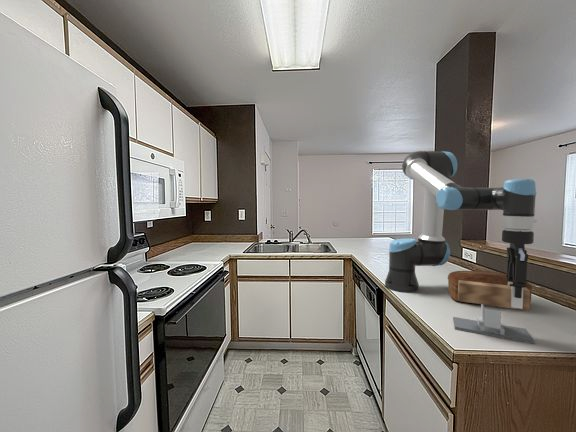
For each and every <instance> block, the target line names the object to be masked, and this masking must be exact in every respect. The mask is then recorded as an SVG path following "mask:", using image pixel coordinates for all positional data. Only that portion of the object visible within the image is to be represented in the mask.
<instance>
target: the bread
mask: <svg viewBox="0 0 576 432" xmlns="http://www.w3.org/2000/svg"><path fill="white" fill-rule="evenodd" d="M506 275H507V273H503V272H497V271H487V270H455V271H451V272H449V274H448V275H447V282H448V283H447V285H448V294H449V296H450V297H451V298H452V299H453V300H454V301H456V302H461V303H464V302H463V301H459V299H458V281H459V280H463V281H472V282H481V283H491V284H500V285H508V282H510V281H508V280H507V279H508V278H507V277H506ZM526 288H527V289H528V290H529V291H530V301H529V307H530V306H531V302H532V292H533V288H532V286H531V284H530V283H529V282H528V281H527V280H526ZM465 303H468V304H469V303H470V302H465ZM470 304H471V303H470Z"/></svg>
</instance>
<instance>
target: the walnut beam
mask: <svg viewBox="0 0 576 432" xmlns="http://www.w3.org/2000/svg"><path fill="white" fill-rule="evenodd" d="M458 299H459V301H458V302H460V301H463V302H462V303H466V302H470V304H471V303H472V304H478V305H481V304H484V305H492V306H498V307H499V308H508V309H514V310H521V311H530V306H529V301H530V291H529V290H528V289H527V288H526V287H524V288H523V309H520V308H513V307H511V286H509V285H500V284H491V283H481V282H472V281H463V280H459V281H458Z"/></svg>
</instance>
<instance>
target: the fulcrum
mask: <svg viewBox="0 0 576 432" xmlns="http://www.w3.org/2000/svg"><path fill="white" fill-rule="evenodd" d="M476 317H477V318H476V319H469V318H464V317H463V318H462V317H458V316H457V317H456V316H452V320H453V321H452V322H453V327H454V330H457V331H458V330H459V331H463V332H469V333H473V334H479V335H485V336H491V337H496V338H501V339H507V340H513V341H518V342H525V343H529V344H535V343H536V341H535V340H534V338H533V337H532V336H531V334H530V333H529V331H528V329H526V328H524V327H518V326H511V325H506V324H502V311H501V309H500V307H499V306H492V305H484V304H480V316H476Z"/></svg>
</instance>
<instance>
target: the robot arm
mask: <svg viewBox="0 0 576 432" xmlns="http://www.w3.org/2000/svg"><path fill="white" fill-rule="evenodd" d="M401 169H402V172H403V174H404V175H405V176H406V178H408V179H410V180H414V181H415V182H417V183H419V185H421V186H422V187H423V188H424V198H423V211H422V226H421V228H422V229H421V234H420V235H419V236H418V237H417V240H416V239H415V238H410V237H409V238H396V239H393V240H391V241H390V243H389V249H388V253H389V254H388V255H389V256H388V257H389V258H388V259H389V260H388V261H389V262H388V265H389V267H388V272H387V274H386V278H385V280H384V287H386V288H387V289H389V290H393V291H397V292H402V293H403V292H405V293H412V292H413V293H414V292H418V291H419V289H420V288H419V287H420V285H419V284H420V283H419V280H418V278H417V274H416V267H421V266H422V267H425V266H427V267H428V266H429V267H436V266H437V267H438V266H443V265H445V264H447V262H448V261H449V260H450V256H451V248H450V245H449V243H448V242H446V238H445V237H444V236H443V227H444V226H443V225H444V212H445V210H449V211H456V210H457V211H459V210H460V211H462V210H464V211H467V210H468V211H472V210H473V211H479V210H480V211H502V219H501V220H502V223H501V225H502V226H501V227H502V229H503V230H502V231H501V241H502V242H503V243H505V244H509V247H506V274H507V275H506V277H507V278H508V279H507V280H508V281H510V282H508V285H509V286H511V307H513V308H520V309H523V288H524V287H526V281H527V275H528V274H527V273H528V272H527V270H528V259H529V254H528V253H527V249H525V248H526V247H525V245H532V244H534V240H535V239H534V236H535V235H534V232H533V230H534V228H535V223H537V219H535V215H536V213H535V212H536V209H535V208H536V196H537V190H536V189H537V188H536V181H535V180H534V179H531V178H524V179H523V178H517V179H507V180H505V181H504V184H503V186H501V187H462V186H461V185H459V184H457V183H456V182H454V181H453V180H451V178H453V177H454V176H455V175H456V173H457V170H458V161H457V157H456V156H455V154H454V153H452V152H450V151H443V150H440V151H439V150H438V151H437V150H436V151H435V150H434V151H432V150H431V151H425V150H424V151H423V150H418V151H413V152H411V153H410V154H408V155H407V156H405V158H404V159H403V161H402V165H401ZM513 308H512V309H513ZM520 309H519V310H520Z"/></svg>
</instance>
